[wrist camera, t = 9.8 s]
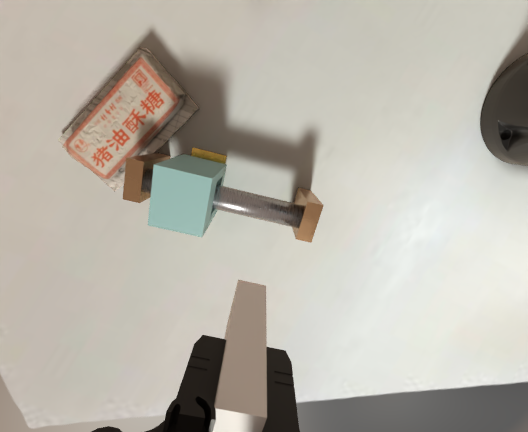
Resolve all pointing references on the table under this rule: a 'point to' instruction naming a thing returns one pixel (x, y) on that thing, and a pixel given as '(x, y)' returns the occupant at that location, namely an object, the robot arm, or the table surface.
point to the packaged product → (128, 118)
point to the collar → (184, 194)
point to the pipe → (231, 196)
